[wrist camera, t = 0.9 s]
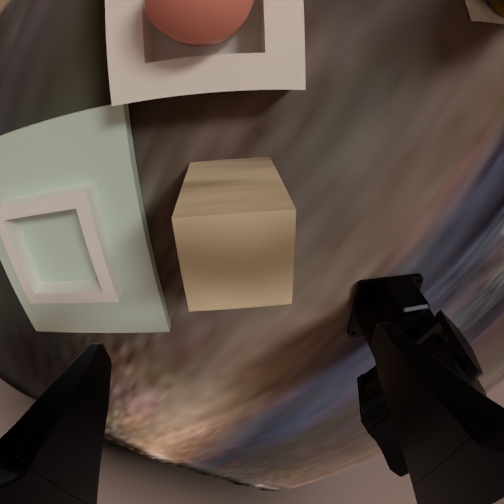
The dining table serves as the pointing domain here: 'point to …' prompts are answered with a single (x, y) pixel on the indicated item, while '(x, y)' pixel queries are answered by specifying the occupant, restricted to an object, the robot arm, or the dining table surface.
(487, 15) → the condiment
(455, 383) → the robot arm
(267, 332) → the dining table surface
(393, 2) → the dining table surface
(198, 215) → the block
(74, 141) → the tray
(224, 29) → the button
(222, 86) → the button housing
